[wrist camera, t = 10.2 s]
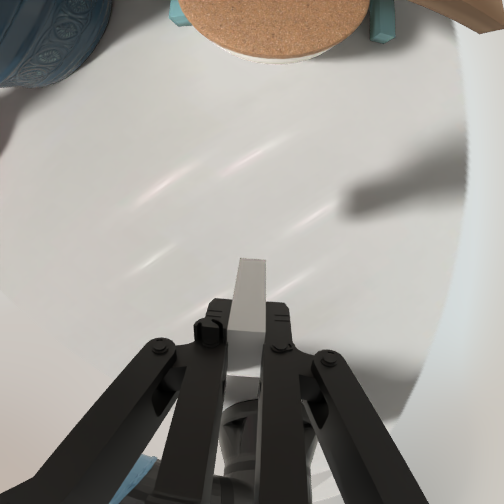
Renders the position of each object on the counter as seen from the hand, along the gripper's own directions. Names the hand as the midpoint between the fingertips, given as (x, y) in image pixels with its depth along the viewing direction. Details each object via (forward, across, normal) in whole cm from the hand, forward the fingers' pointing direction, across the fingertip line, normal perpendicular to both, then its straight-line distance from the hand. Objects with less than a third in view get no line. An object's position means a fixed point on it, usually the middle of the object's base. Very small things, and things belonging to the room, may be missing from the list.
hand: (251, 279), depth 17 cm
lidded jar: (+7, 0, -18) cm, 20 cm away
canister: (+8, +20, -21) cm, 30 cm away
